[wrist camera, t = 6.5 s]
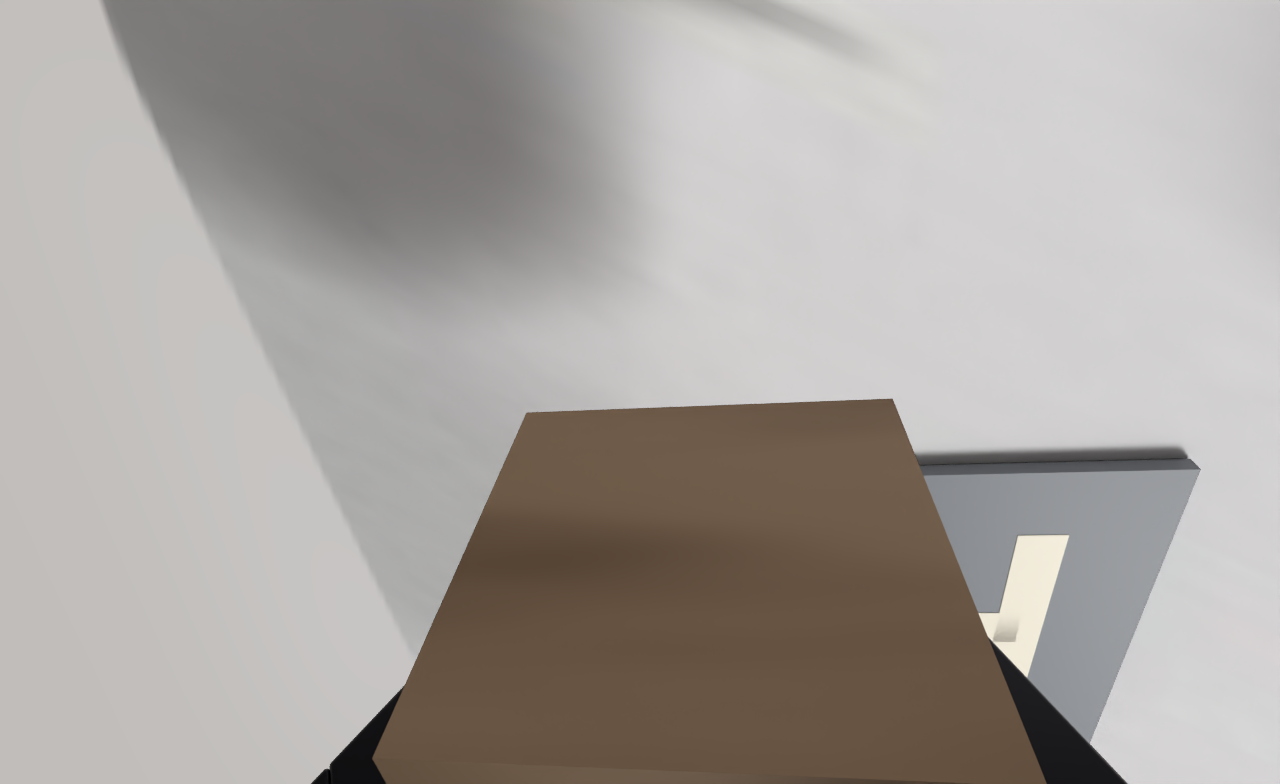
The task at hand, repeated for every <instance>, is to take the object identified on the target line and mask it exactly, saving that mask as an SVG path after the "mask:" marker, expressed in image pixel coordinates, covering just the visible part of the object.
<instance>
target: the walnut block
mask: <svg viewBox="0 0 1280 784" xmlns="http://www.w3.org/2000/svg"><path fill="white" fill-rule="evenodd" d="M372 759H373V761H374V762H375V764H376V766H377V768H378V770H379V771H380V773H381V775H382V777H383V779H384V780H385V782H386V784H1047V783H1046V781H1045V778H1044V776H1043V773H1042V771H1041V768H1040V766H1039V763H1038V761H1037V758H1036V756H1035V753H1034V751H1033V748H1032V746H1031V743H1030V741H1029V738H1028V736H1027V733H1026V731H1025V728H1024V726H1023V723H1022V721H1021V718H1020V716H1019V713H1018V711H1017V708H1016V706H1015V703H1014V701H1013V698H1012V696H1011V693H1010V691H1009V688H1008V686H1007V683H1006V681H1005V678H1004V676H1003V673H1002V671H1001V668H1000V666H999V663H998V661H997V658H996V656H995V653H994V651H993V648H992V646H991V643H990V641H989V638H988V636H987V633H986V631H985V628H984V626H983V623H982V621H981V618H980V616H979V613H978V611H977V608H976V606H975V603H974V601H973V598H972V596H971V594H970V591H969V589H968V586H967V584H966V581H965V579H964V576H963V574H962V571H961V569H960V566H959V564H958V561H957V559H956V556H955V554H954V551H953V549H952V546H951V544H950V541H949V539H948V536H947V534H946V531H945V529H944V526H943V524H942V521H941V519H940V516H939V514H938V511H937V509H936V506H935V504H934V501H933V499H932V496H931V494H930V491H929V489H928V486H927V484H926V481H925V479H924V476H923V474H922V471H921V469H920V466H919V464H918V461H917V459H916V456H915V454H914V451H913V449H912V446H911V444H910V441H909V439H908V436H907V434H906V431H905V429H904V426H903V424H902V421H901V419H900V416H899V414H898V411H897V409H896V406H895V404H894V401H893V399H873V400H846V401H820V402H794V403H768V404H742V405H716V406H689V407H663V408H637V409H611V410H585V411H558V412H532V413H526V415H525V418H524V420H523V422H522V424H521V427H520V429H519V431H518V433H517V435H516V438H515V440H514V442H513V444H512V447H511V449H510V451H509V453H508V456H507V458H506V460H505V462H504V465H503V467H502V469H501V471H500V474H499V476H498V478H497V480H496V482H495V485H494V487H493V489H492V491H491V494H490V496H489V498H488V500H487V503H486V505H485V507H484V509H483V512H482V514H481V516H480V518H479V521H478V523H477V525H476V527H475V529H474V532H473V534H472V536H471V538H470V541H469V543H468V545H467V547H466V550H465V552H464V554H463V556H462V559H461V561H460V563H459V565H458V567H457V570H456V572H455V574H454V576H453V579H452V581H451V583H450V585H449V588H448V590H447V592H446V594H445V597H444V599H443V601H442V603H441V606H440V608H439V610H438V612H437V614H436V617H435V619H434V621H433V623H432V626H431V628H430V630H429V632H428V635H427V637H426V639H425V641H424V644H423V646H422V648H421V650H420V653H419V655H418V657H417V659H416V661H415V664H414V666H413V668H412V670H411V673H410V675H409V677H408V680H407V682H406V684H405V686H404V688H403V691H402V693H401V695H400V697H399V699H398V702H397V704H396V706H395V708H394V711H393V713H392V715H391V717H390V720H389V722H388V724H387V726H386V729H385V731H384V733H383V735H382V738H381V740H380V742H379V744H378V746H377V749H376V751H375V753H374V755H373V758H372Z"/></svg>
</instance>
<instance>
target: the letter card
mask: <svg viewBox="0 0 1280 784" xmlns="http://www.w3.org/2000/svg"><path fill="white" fill-rule="evenodd" d="M919 466H920V469H921V471H922V474H923V476H924V479H925V481H926V484H927V486H928V489H929V491H930V494H931V496H932V499H933V501H934V504H935V506H936V509H937V511H938V514H939V516H940V519H941V521H942V524H943V526H944V529H945V531H946V534H947V536H948V539H949V541H950V544H951V546H952V549H953V551H954V554H955V556H956V559H957V561H958V564H959V566H960V569H961V571H962V574H963V576H964V579H965V581H966V584H967V586H968V589H969V591H970V594H971V596H972V598H973V601H974V603H975V606H976V608H977V611H978V613H979V616H980V618H981V621H982V623H983V626H984V628H985V631H986V633H987V636H988V637H989V638H990V639H991V640H992V641H993V642H994V644H995V645H996V646H997V647H998V648H999V649H1000V650H1001V651H1002V652H1003V653H1004V654H1005V655H1006V656H1007V657H1008V658H1009V659H1010V660H1011V661H1012V662H1013V664H1014V665H1015V666H1016V667H1017V668H1018V669H1019V670H1020V671H1021V672H1022V673H1023V674H1024V675H1025V676H1026V677H1027V678H1028V679H1029V680H1030V681H1031V683H1032V684H1033V685H1034V686H1035V687H1036V688H1037V689H1038V690H1039V691H1040V692H1041V693H1042V694H1043V695H1044V696H1045V697H1046V698H1047V699H1048V700H1049V701H1050V703H1051V704H1052V705H1053V706H1054V707H1055V708H1056V709H1057V710H1058V711H1059V712H1060V713H1061V714H1062V715H1063V716H1064V717H1065V718H1066V719H1067V720H1068V721H1069V723H1070V724H1071V725H1072V726H1073V727H1074V728H1075V729H1076V730H1077V731H1078V732H1079V733H1080V734H1081V735H1082V736H1083V737H1084V738H1085V739H1086V740H1087V741H1088V743H1090V741H1091V739H1092V736H1093V734H1094V731H1095V729H1096V726H1097V724H1098V721H1099V719H1100V716H1101V714H1102V711H1103V709H1104V706H1105V704H1106V702H1107V699H1108V697H1109V694H1110V692H1111V689H1112V687H1113V684H1114V682H1115V679H1116V677H1117V674H1118V672H1119V669H1120V667H1121V665H1122V662H1123V660H1124V657H1125V655H1126V652H1127V650H1128V647H1129V645H1130V642H1131V640H1132V637H1133V635H1134V632H1135V630H1136V628H1137V625H1138V623H1139V620H1140V618H1141V615H1142V613H1143V610H1144V608H1145V605H1146V603H1147V600H1148V598H1149V595H1150V593H1151V590H1152V588H1153V586H1154V583H1155V581H1156V578H1157V576H1158V573H1159V571H1160V568H1161V566H1162V563H1163V561H1164V558H1165V556H1166V553H1167V551H1168V549H1169V546H1170V544H1171V541H1172V539H1173V536H1174V534H1175V531H1176V529H1177V526H1178V524H1179V521H1180V519H1181V516H1182V514H1183V512H1184V509H1185V507H1186V504H1187V502H1188V499H1189V497H1190V494H1191V492H1192V489H1193V487H1194V484H1195V482H1196V479H1197V477H1198V475H1199V472H1200V470H1201V469H1200V468H1199V467H1198V466H1197V465H1196V464H1195V463H1194V462H1193V461H1192V460H1191V459H1162V460H1121V461H1081V462H1041V463H1000V464H960V465H919Z"/></svg>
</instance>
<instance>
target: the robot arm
mask: <svg viewBox="0 0 1280 784" xmlns="http://www.w3.org/2000/svg"><path fill="white" fill-rule="evenodd" d="M988 638H989V637H988ZM989 641H990V643H991V646H992V648H993V651H994V653H995V656H996V658H997V661H998V663H999V666H1000V668H1001V671H1002V673H1003V676H1004V678H1005V681H1006V683H1007V686H1008V688H1009V691H1010V693H1011V696H1012V698H1013V701H1014V703H1015V706H1016V708H1017V711H1018V713H1019V716H1020V718H1021V721H1022V723H1023V726H1024V728H1025V731H1026V733H1027V736H1028V738H1029V741H1030V743H1031V746H1032V748H1033V751H1034V753H1035V756H1036V758H1037V761H1038V763H1039V766H1040V768H1041V771H1042V773H1043V776H1044V778H1045V781H1046V783H1047V784H1127V783H1126V781H1125V780H1124V779H1123V778H1122V777H1121V776H1120V775H1119V774H1118V773H1117V772H1116V771H1115V770H1114V769H1113V768H1112V767H1111V766H1110V765H1109V764H1108V763H1107V761H1106V760H1105V759H1104V758H1103V757H1102V756H1101V755H1100V754H1099V753H1098V752H1097V751H1096V750H1095V749H1094V748H1093V747H1092V746H1091V745H1090V744H1089V743H1088V741H1087V740H1086V739H1085V738H1084V737H1083V736H1082V735H1081V734H1080V733H1079V732H1078V731H1077V730H1076V729H1075V728H1074V727H1073V726H1072V725H1071V724H1070V723H1069V721H1068V720H1067V719H1066V718H1065V717H1064V716H1063V715H1062V714H1061V713H1060V712H1059V711H1058V710H1057V709H1056V708H1055V707H1054V706H1053V705H1052V704H1051V703H1050V701H1049V700H1048V699H1047V698H1046V697H1045V696H1044V695H1043V694H1042V693H1041V692H1040V691H1039V690H1038V689H1037V688H1036V687H1035V686H1034V685H1033V684H1032V683H1031V681H1030V680H1029V679H1028V678H1027V677H1026V676H1025V675H1024V674H1023V673H1022V672H1021V671H1020V670H1019V669H1018V668H1017V667H1016V666H1015V665H1014V664H1013V662H1012V661H1011V660H1010V659H1009V658H1008V657H1007V656H1006V655H1005V654H1004V653H1003V652H1002V651H1001V650H1000V649H999V648H998V647H997V646H996V645H995V644H994V642H993V641H992V640H991V639H990V638H989ZM404 686H405V685H404ZM403 688H404V687H403ZM403 688H402V689H401V690H400V691H399V692H398V693H397V694H396V695H395V696H394V697H393V698H392V699H391V700H390V701H389V702H388V703H387V705H385V707H384V708H383V709H382V710H381V711H380V712H379V713H378V714H377V715H376V716H375V717H374V718H373V719H372V720H371V721H370V722H369V723H368V724H367V726H366V727H365V728H364V729H363V730H362V731H361V732H360V733H359V734H358V735H357V736H356V737H355V738H354V739H353V741H351V742H350V744H349V745H348V746H347V747H346V748H345V749H344V750H343V751H342V752H341V753H340V754H339V755H338V756H337V757H336V758H335V759H334V760H333V761H332V763H331V764H330V770H329V769H325V770H324V771H323V772H322V773H321V774H320V775H319V776H318V777H317V778H316V779H315V780H314V781H313V782H312V783H311V784H386V782H385V780H384V779H383V777H382V775H381V773H380V771H379V770H378V768H377V766H376V764H375V762H374V761H373V759H372V758H373V755H374V753H375V751H376V749H377V746H378V744H379V742H380V740H381V738H382V735H383V733H384V731H385V729H386V726H387V724H388V722H389V720H390V717H391V715H392V713H393V711H394V708H395V706H396V704H397V702H398V699H399V697H400V695H401V693H402V691H403Z"/></svg>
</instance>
